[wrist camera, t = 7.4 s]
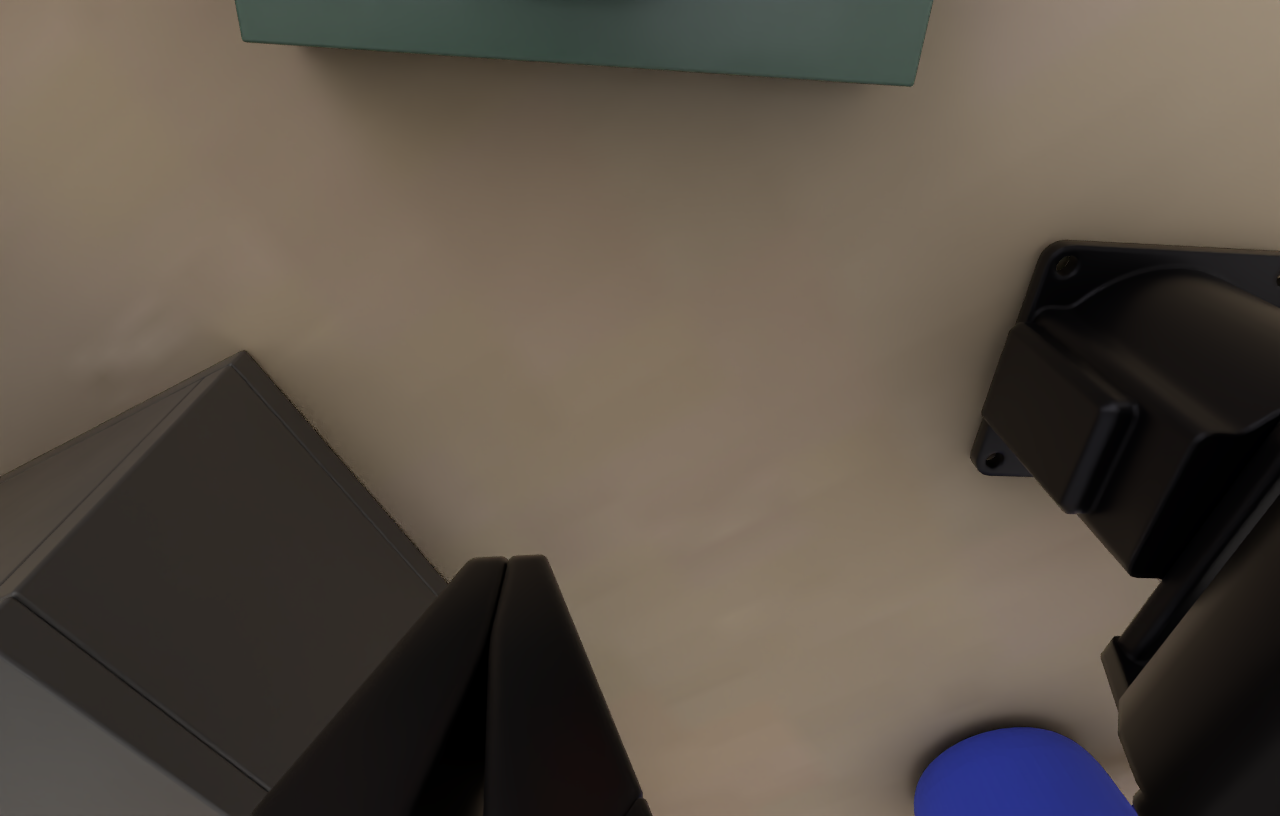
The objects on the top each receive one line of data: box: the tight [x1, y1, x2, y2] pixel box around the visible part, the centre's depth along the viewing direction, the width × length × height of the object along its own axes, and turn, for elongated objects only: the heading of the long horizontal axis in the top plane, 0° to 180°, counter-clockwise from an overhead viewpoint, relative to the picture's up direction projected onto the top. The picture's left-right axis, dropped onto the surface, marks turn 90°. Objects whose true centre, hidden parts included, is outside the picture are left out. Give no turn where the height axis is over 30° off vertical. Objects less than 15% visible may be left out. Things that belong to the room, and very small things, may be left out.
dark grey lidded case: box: [0, 351, 448, 816], centre depth 19 cm, size 15×13×9 cm
